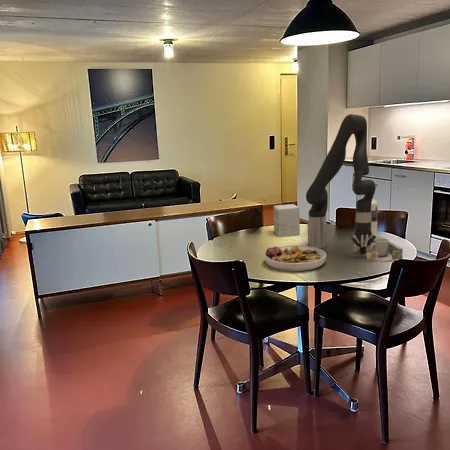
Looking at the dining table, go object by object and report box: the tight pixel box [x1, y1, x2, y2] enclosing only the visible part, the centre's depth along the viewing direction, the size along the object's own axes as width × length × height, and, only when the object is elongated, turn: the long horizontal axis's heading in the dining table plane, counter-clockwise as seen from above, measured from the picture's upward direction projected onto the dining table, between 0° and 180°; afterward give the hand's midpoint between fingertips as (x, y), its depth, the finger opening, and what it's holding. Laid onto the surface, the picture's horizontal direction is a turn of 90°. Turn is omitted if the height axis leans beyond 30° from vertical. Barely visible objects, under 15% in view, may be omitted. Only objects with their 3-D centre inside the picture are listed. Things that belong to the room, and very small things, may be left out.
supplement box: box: [273, 203, 301, 238], centre depth 271 cm, size 13×13×18 cm
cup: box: [370, 237, 390, 257], centre depth 220 cm, size 11×8×8 cm
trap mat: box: [379, 258, 394, 263], centre depth 211 cm, size 7×2×1 cm, turn 97°
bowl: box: [263, 244, 327, 272], centre depth 216 cm, size 30×30×8 cm
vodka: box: [368, 198, 379, 240], centre depth 249 cm, size 9×9×30 cm
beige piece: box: [353, 241, 403, 263], centre depth 220 cm, size 18×17×5 cm
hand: (362, 254), depth 220 cm, fingers closed
